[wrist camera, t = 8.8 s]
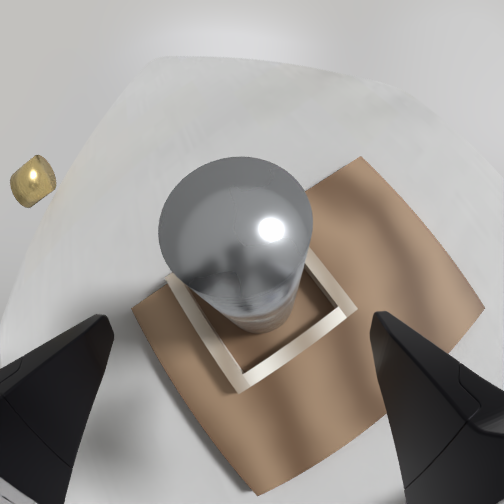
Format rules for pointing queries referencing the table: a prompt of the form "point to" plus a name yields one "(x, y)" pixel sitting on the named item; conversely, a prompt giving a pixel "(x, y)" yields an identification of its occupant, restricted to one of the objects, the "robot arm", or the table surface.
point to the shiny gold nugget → (33, 181)
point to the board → (312, 333)
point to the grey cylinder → (239, 239)
